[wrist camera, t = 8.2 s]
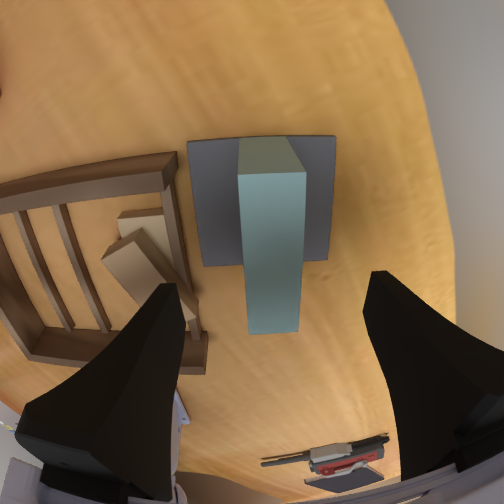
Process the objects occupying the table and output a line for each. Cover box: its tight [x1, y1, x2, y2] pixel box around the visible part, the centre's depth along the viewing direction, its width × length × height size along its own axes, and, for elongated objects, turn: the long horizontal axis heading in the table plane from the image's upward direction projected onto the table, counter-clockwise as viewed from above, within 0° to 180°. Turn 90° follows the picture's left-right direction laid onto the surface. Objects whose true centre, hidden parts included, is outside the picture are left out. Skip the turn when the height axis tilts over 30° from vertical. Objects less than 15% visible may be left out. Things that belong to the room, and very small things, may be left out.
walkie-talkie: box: [261, 436, 390, 478], centre depth 40 cm, size 9×4×20 cm
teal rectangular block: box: [238, 136, 306, 335], centre depth 15 cm, size 8×2×6 cm, turn 3°
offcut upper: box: [100, 227, 199, 322], centre depth 19 cm, size 6×3×2 cm, turn 27°
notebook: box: [304, 465, 385, 493], centre depth 53 cm, size 13×2×21 cm
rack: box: [0, 151, 208, 375], centre depth 19 cm, size 15×17×4 cm
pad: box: [187, 135, 336, 267], centre depth 18 cm, size 8×8×1 cm
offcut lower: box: [117, 208, 176, 272], centre depth 20 cm, size 8×3×2 cm, turn 3°
